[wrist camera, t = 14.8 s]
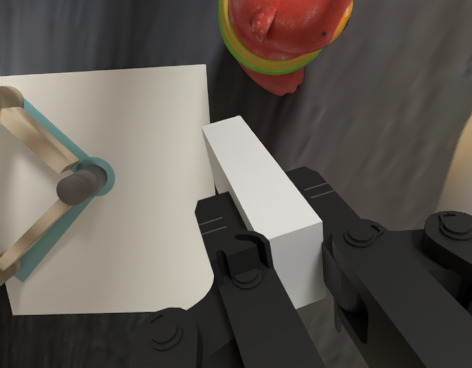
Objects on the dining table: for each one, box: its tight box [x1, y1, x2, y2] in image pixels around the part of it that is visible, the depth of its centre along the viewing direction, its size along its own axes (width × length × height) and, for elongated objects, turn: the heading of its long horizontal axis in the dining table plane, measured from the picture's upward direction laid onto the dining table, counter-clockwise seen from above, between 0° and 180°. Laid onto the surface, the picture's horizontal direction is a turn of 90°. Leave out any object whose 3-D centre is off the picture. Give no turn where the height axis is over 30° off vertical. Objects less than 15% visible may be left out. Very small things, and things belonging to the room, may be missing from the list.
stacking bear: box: [218, 0, 353, 96], centre depth 28 cm, size 11×10×18 cm
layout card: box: [0, 64, 215, 315], centre depth 42 cm, size 28×26×1 cm
